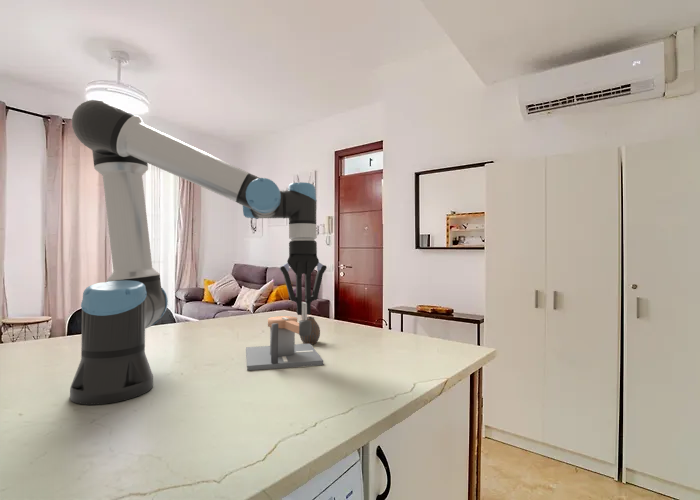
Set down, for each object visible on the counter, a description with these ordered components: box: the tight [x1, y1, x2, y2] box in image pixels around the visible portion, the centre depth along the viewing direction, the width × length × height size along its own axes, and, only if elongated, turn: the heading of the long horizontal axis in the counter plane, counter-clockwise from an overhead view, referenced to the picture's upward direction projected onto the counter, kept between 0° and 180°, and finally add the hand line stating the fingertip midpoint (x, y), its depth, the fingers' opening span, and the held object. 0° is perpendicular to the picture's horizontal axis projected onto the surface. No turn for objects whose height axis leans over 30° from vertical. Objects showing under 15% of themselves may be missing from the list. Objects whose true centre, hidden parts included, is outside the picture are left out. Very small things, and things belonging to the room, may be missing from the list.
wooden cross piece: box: [267, 315, 311, 337], centre depth 104 cm, size 20×8×4 cm, turn 33°
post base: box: [245, 323, 324, 371], centre depth 109 cm, size 20×20×12 cm
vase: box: [299, 316, 321, 345], centre depth 128 cm, size 7×7×9 cm
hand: (303, 326), depth 102 cm, fingers closed
